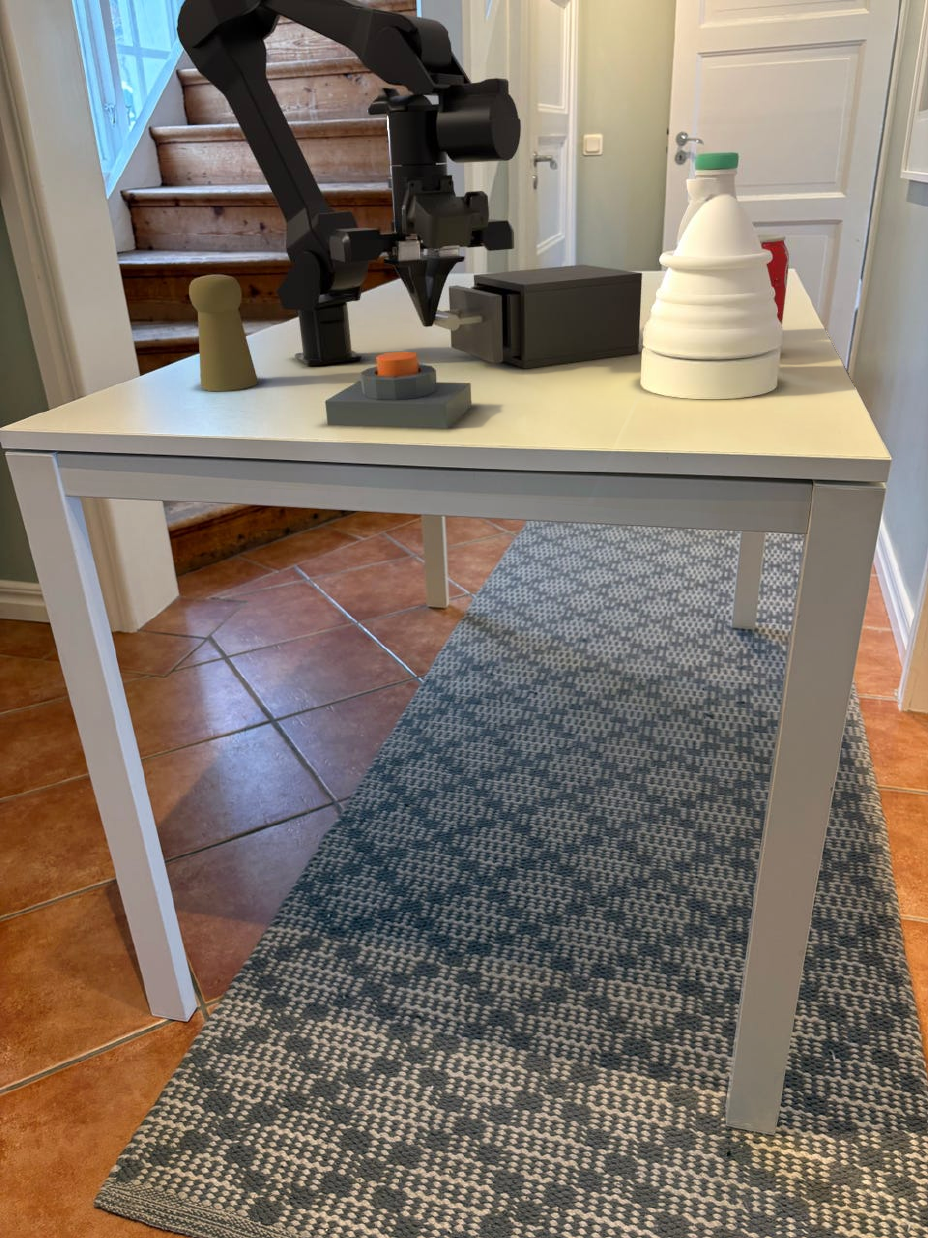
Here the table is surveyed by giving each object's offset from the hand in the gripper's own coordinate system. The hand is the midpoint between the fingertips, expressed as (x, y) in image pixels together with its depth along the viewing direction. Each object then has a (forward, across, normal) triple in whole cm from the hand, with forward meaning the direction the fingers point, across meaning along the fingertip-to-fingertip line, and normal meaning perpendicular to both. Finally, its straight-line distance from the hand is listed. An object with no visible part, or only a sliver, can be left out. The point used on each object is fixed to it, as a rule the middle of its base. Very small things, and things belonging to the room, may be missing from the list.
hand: (427, 326), depth 97 cm
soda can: (+5, +32, -14) cm, 35 cm away
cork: (+5, -21, +5) cm, 22 cm away
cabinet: (+4, +16, 0) cm, 16 cm away
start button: (+1, -10, -18) cm, 21 cm away
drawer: (+4, +10, 0) cm, 10 cm away
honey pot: (+5, +20, -23) cm, 31 cm away
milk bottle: (+5, +34, -4) cm, 34 cm away
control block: (+4, -10, -18) cm, 21 cm away
